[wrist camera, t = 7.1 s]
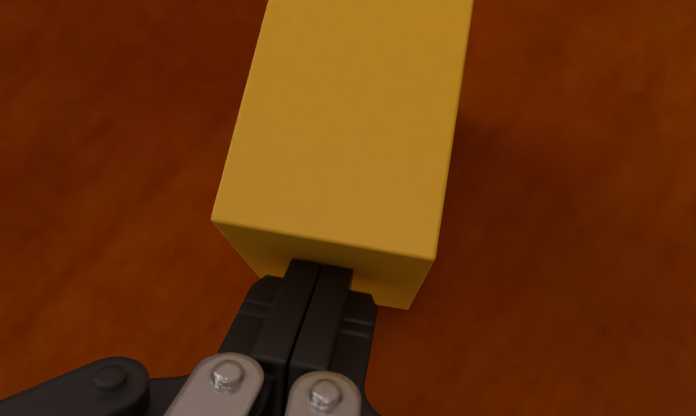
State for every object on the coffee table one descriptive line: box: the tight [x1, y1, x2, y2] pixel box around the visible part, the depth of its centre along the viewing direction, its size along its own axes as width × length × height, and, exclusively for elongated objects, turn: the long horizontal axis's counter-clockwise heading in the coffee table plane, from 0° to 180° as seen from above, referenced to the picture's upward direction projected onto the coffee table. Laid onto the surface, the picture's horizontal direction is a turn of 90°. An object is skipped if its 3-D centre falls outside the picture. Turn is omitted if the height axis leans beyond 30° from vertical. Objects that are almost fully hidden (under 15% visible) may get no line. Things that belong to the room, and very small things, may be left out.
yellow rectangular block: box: [211, 0, 474, 310], centre depth 16 cm, size 7×5×7 cm, turn 169°
